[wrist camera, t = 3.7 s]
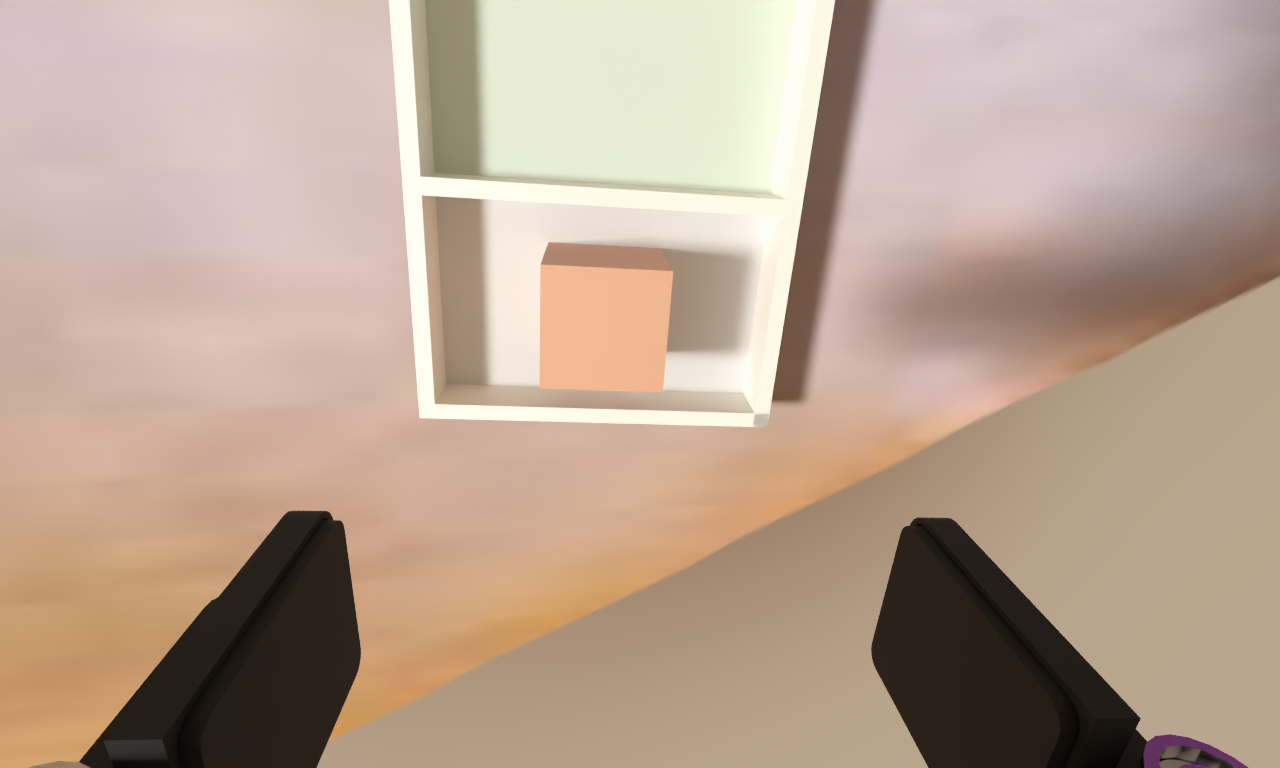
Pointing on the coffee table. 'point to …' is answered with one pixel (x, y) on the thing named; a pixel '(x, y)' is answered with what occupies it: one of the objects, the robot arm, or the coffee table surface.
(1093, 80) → the coffee table surface
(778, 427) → the coffee table surface
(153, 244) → the coffee table surface
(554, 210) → the sorting box
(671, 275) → the plain light orange cube
